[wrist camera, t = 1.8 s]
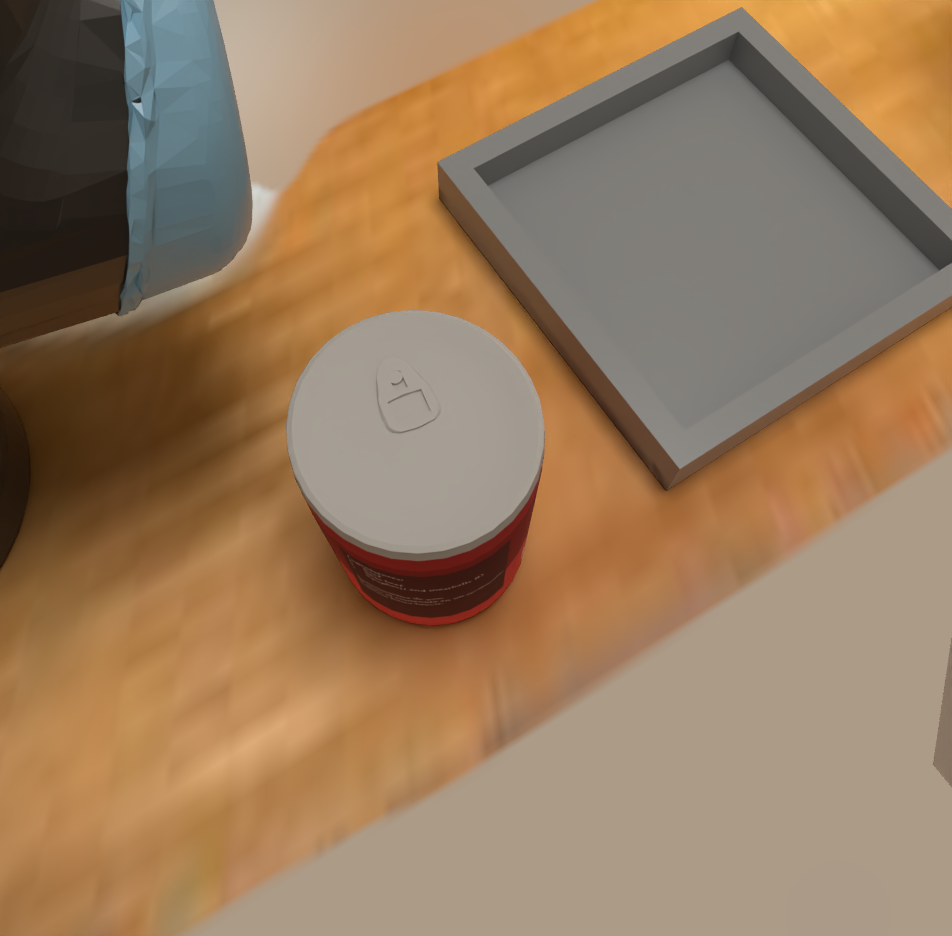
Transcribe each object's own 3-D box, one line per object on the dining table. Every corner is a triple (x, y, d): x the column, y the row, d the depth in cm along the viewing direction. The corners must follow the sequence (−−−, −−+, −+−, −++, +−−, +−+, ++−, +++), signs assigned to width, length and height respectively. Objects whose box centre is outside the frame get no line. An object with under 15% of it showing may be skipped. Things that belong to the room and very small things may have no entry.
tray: (666, 490, 36) (679, 469, 33) (439, 198, 41) (437, 162, 39) (974, 292, 39) (1005, 260, 37) (727, 48, 45) (741, 7, 42)
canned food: (443, 412, 37) (432, 264, 27) (565, 549, 35) (604, 444, 24) (299, 519, 35) (229, 403, 25) (418, 670, 33) (394, 611, 23)
